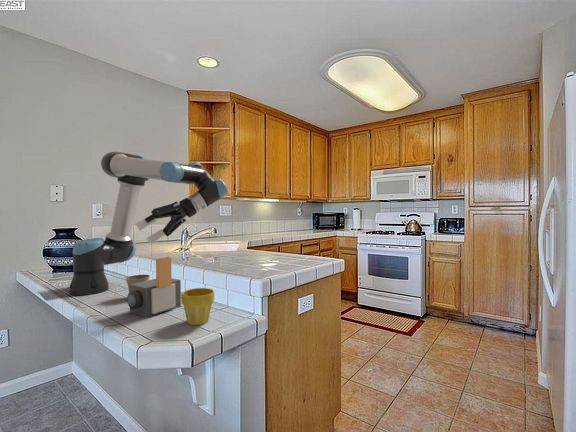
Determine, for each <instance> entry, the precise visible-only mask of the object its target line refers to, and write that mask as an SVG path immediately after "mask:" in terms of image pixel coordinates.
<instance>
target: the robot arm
mask: <svg viewBox="0 0 576 432" xmlns="http://www.w3.org/2000/svg"><path fill="white" fill-rule="evenodd" d="M100 165H101V169H102V171H103V172H104V173H105V174H106V175H108V176H110V177H112V178H116V179H117V182H118V183H119V188H118V194H117V198H116V203H115V209H114V213H113V216H112V217H113V219H112V223H111V227H110V232H109V231H108V233H106V234H105V239H104V238H102V237H94V238H87V239H85V238H84V239H82V240H78V241H76V242H74V243H73V245H72V264H73V265H72V267H73V273H72V275H73V276H72V279H71V282H70V284H69V287H68V294H69V295H72V296H85V295H93V294H94V295H95V294H100V293H103V292H106V291H108V290H109V289H110V283H109V282H108V278H107V276H106V273H105V266H107V265H113V264H118V263H119V264H120V263H124V262H128V261H129V260H131V259H132V258H133V257H134V256H135V254H136V250H137V246H136V243H135V241H134V240H133V239H134V238H133V236H132V235H131V232H132V227H133V222H134V219H135V213H136V209H137V205H138V204H137V203H138V201H139V200H138V199H139V195H140V189H142V188H143V187H145V183H146V182H147V181H150V180H157V181H163V182H164V181H165V182H168V183H175V184H176V183H177V184H186V185H194V186H195V187H196V189H197V191H196V192H194V193H192V194H190V195H188V197H185V198H183V199H181V200H180V201H179V202H178V201H174V202H173V203H170V204H167V205H163V206H159V207H156V208H153V209H152V210H151V212H150V213H151V214H150V215H149V216H147V217H145V218H144V219H143V218H142V220H140V221H138V222H137V223H135V226H136V227H137V228H138V230H139V231H142V230H143V229H146V227H148V226H150V225H151V224H153V223H155V222H157V219H163V218H170V220H169V221H168V222H167V224H166V225H165V226H164V227H163V229H162V228H161V229H159V230H158V231H156V232H154V233H153V234H151V235H149V236H148V237H146V240H147V241H148V243H149V244H151V245H152V244H153V243H154V242H156V241H158V240H160V239H161V238H162V237H164V236H166V237H169V236H171V235H172V234H173V233H174V232H175V231H176V230H177V229H178V228H179V227H181V225H183V224H184V223H185V222H187V219H186V217H188V218H193V216H195V215H196V214H197V212H198V213H199V212H201V211H203V210H206V208H208V207H209V206H211V205H213V204H214V203H216V202H218V201H219V200H221V199H222V198H224V197H225V196H227V195H228V194H229V193H228V192H229V189H228V187H227V184H226V183H225V182H224V180H222V179H221V178H218V179H214V178H213V177H212V176H211V175H210V174H209V173H208V171H207V170H206V168H205V167H204V166H203V165H202V164H201V163H199V162H198V161H194V162H190V163H188V164H183V163H178V162H177V161H176V162H175V161H165V160H164V161H162V160H157V159H156V160H154V159H148V158H146V157H145V156H142V155H137V154H132V153H126V152H121V151H109V152H107V153H106V154H104V155H103V156H102V158H101V161H100Z"/></svg>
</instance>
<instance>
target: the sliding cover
mask: <svg viewBox="0 0 576 432" xmlns="http://www.w3.org/2000/svg"><path fill="white" fill-rule="evenodd" d="M171 278H172V257H171V256H165V257H159V258H155V279H156V288H153V289H151V305H152V314H155V313H158V312H161V311H164V310H167V309H170V308H173V307H176V294H175V284H172V280H171Z"/></svg>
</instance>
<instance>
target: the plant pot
mask: <svg viewBox="0 0 576 432" xmlns="http://www.w3.org/2000/svg"><path fill="white" fill-rule="evenodd" d="M214 301H215V290H214V289H213V288H208V287H195V288H189V289H185V290H184V291H182V292H181V305H183V309H184V311H185V312H184V313H185V318H186V321H187V324H188V325H191V326H201V325H205V324H207V323H208V322H209V319H210V314H211V311H212V305H213V303H214Z"/></svg>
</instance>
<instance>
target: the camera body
mask: <svg viewBox="0 0 576 432" xmlns="http://www.w3.org/2000/svg"><path fill="white" fill-rule="evenodd" d="M171 280H172V284H175V294H176V307H173V308H170V309H167V310H164V311H161V312H158V313H155V314H152V305H151V289H153V288H156V278H152V279H149V280H147V281H143V282H138V283H134V284H129V289H128V294H127V298H126V299H127V300H126V301H127V304H128V307H129V313H131V314H133V315H138V316H141V317H144V318H149V317H151V316H154V315H158V314H162V313H164V312H167V311H170V310H173V309H176V308H179V307H182V301H181V294H182V292H181V287H182V286H181V279H178V278H172V277H171Z"/></svg>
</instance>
